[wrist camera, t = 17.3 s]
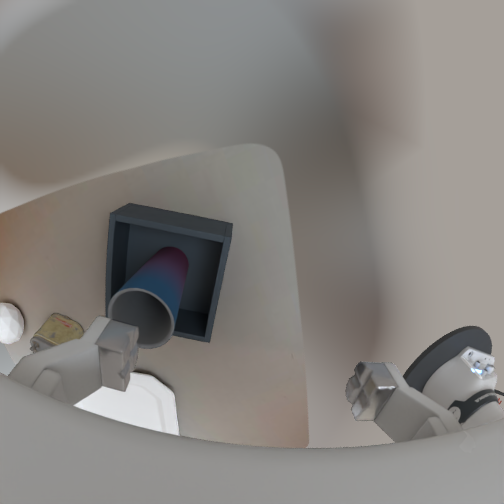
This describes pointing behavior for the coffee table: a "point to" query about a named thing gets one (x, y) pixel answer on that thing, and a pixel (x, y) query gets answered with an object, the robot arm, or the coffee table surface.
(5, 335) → the geometric ball
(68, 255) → the coffee table surface
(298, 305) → the coffee table surface
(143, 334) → the cup
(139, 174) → the coffee table surface
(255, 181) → the coffee table surface
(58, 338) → the lighter
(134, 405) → the plate
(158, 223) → the tub
